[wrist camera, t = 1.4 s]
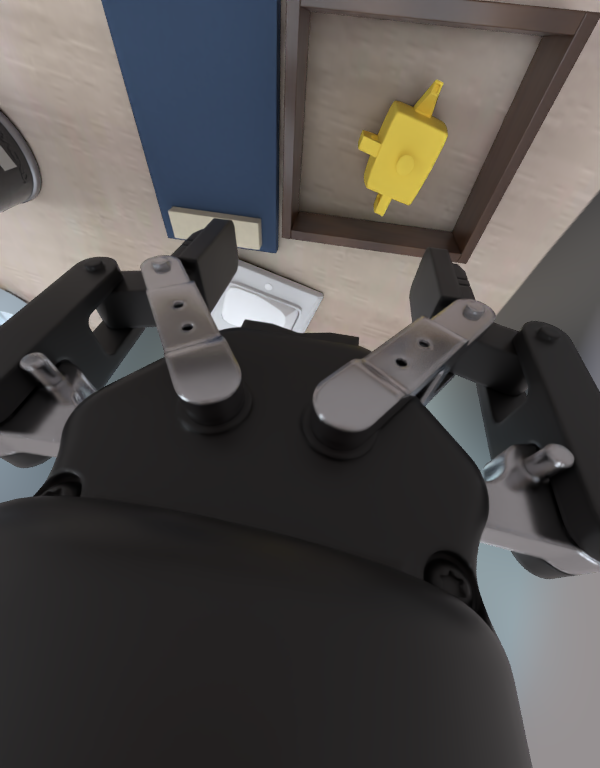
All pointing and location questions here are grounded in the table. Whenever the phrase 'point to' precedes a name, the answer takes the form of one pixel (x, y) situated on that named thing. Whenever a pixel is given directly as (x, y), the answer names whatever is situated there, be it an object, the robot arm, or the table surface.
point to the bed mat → (206, 109)
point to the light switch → (265, 300)
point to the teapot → (403, 150)
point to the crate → (527, 112)
